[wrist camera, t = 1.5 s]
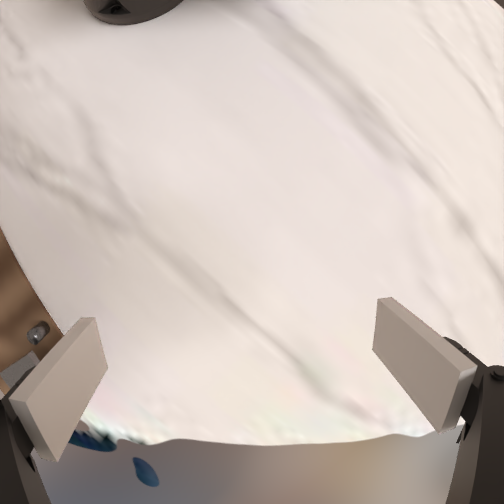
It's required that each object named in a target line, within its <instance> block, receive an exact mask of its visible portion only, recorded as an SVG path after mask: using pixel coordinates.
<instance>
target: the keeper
mask: <svg viewBox="0 0 504 504" xmlns="http://www.w3.org/2000/svg"><path fill="white" fill-rule="evenodd" d="M49 332H50V327H49V325H48V323H47V322H45V321H40V322H39V323H38V324H36V325H35V326H34V327H33V328H32V329H31V330H29V331H28V332H27V339H28V340H29V342H30V343H31V344H33V345H37V344H38V343H39V342H40V341H41V340H42V339H43V338H44V337H45V336H46V335H47V334H48V333H49ZM39 363H40V360H39V359H38V358H37V356H36V355H35V354H34V352H33V351H32V350H31V351H30V352H28V353H27V354H25V355H24V356H22V357H21V358H19V359H18V360H17V361H15V362H14V363H12V364H11V365H9V366H8V367H6V368H5V369H3V370H2V371H1V372H0V376H1V377H2V379H3V380H4V381H5V383H6V384H7V385H8V387H9V388H10V389H11V388H12V387H13V386H14V385H15V383H16V382H17V381H18V380H20V378H21V377H22V375H23V374H24V373H25V372H26V371H27V370H29V369H31V368H32V367H34V366H37V365H38V364H39Z"/></svg>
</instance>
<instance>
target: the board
mask: <svg viewBox="0 0 504 504" xmlns="http://www.w3.org/2000/svg"><path fill="white" fill-rule="evenodd" d="M40 321H45V322H47V323H48V325H49V327H50V332H49V333H48V334H47V335H46V336H45V337H44V338H43V339H42V340H41V341H40V342H39V343H38V344H37V345H33V344H31V343H30V342H29V340H28V339H27V332H28V331H29V330H31V329H32V328H33V327H34V326H35V325H36V324H38V323H39V322H40ZM63 336H64V335H63V334H62V333H61V331H60V330H59V328H58V327H57V325H56V324H55V322H54V321H53V319H52V318H51V316H50V315H49V313H48V312H47V310H46V309H45V307H44V306H43V304H42V303H41V301H40V299H39V298H38V296H37V294H36V293H35V291H34V290H33V288H32V286H31V284H30V283H29V281H28V279H27V278H26V276H25V274H24V272H23V271H22V269H21V267H20V265H19V263H18V262H17V260H16V258H15V256H14V254H13V252H12V250H11V248H10V246H9V244H8V242H7V240H6V238H5V236H4V234H3V232H2V230H1V228H0V372H1V371H2V370H3V369H5V368H6V367H8V366H9V365H11V364H12V363H14V362H15V361H17V360H18V359H19V358H21V357H22V356H24V355H25V354H27V353H28V352H30V351H31V350H32V351H33V352H34V354H35V355H36V356H37V358H38V359H39V360H40V361H41V360H42V359H43V358H44V357H45V356H46V355H47V354H48V353H49V351H50V350H51V349H52V348H53V347H54V346H55V345H56V344H57V343H58V342H59V341H60V340H61V338H62V337H63ZM0 389H1V391H2V392H3V393H4V395H6V394H7V393H8V391H9V390H10V388H9V387H8V385H7V384H6V383H5V381H4V380H3V379H2V377H1V376H0Z"/></svg>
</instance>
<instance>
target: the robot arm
mask: <svg viewBox="0 0 504 504" xmlns="http://www.w3.org/2000/svg"><path fill="white" fill-rule="evenodd" d="M182 1H183V0H84V2H85V4H86V6H87V7H88V9H89V10H90V11H91V12H92V14H93V15H94V16H95V17H97V18H98V19H100V20H102V21H104V22H107V23H111V24H118V25H126V24H135V23H140V22H144V21H147V20H150V19H153V18H156V17H158V16H160V15H162V14H164V13H166V12H168V11H169V10H171V9H173V8H174V7H176V6H177V5H178V4H179V3H181V2H182ZM372 350H373V351H374V352H375V354H376V355H377V356H378V357H379V359H380V360H381V361H382V362H383V364H384V365H385V366H386V367H387V369H388V370H389V371H390V372H391V374H392V375H393V376H394V377H395V379H396V380H397V381H398V382H399V384H400V385H401V386H402V388H403V389H404V390H405V391H406V393H407V394H408V395H409V396H410V398H411V399H412V400H413V402H414V403H415V404H416V405H417V407H418V408H419V409H420V411H421V412H422V413H423V414H424V416H425V417H426V418H427V420H428V421H429V422H430V423H431V425H432V426H433V427H434V429H435V430H436V431H437V433H438V434H442V433H444V432H447V431H449V430H452V429H454V428H455V427H456V425H457V423H458V420H459V418H460V416H461V417H462V418H463V419H464V420H465V421H466V422H465V424H464V426H463V429H462V431H461V433H460V436H459V438H458V440H457V442H456V443H459V442H460V446H459V451H458V456H457V461H456V466H455V470H454V474H453V478H452V482H451V486H450V490H449V494H448V497H447V501H446V504H504V367H503V366H499V365H493V366H489V367H487V366H486V365H485V364H483V363H482V362H481V361H480V360H479V359H477V358H476V357H475V356H474V355H472V354H471V353H469V351H467V350H466V349H465V348H463V347H462V346H461V345H460V344H459V343H457V342H456V341H454V340H452V339H449V338H447V337H442V336H441V335H439V334H438V333H437V332H436V331H434V330H433V329H432V328H431V327H429V326H428V325H427V324H426V323H424V322H423V321H422V320H421V319H419V318H418V317H417V316H415V315H414V314H413V313H412V312H410V311H409V310H408V309H406V308H405V307H404V306H403V305H401V304H400V303H399V302H397V301H396V300H395V299H394V298H392V297H388V298H381V299H378V301H377V313H376V323H375V332H374V340H373V348H372ZM107 369H108V366H107V362H106V359H105V355H104V352H103V348H102V344H101V340H100V336H99V332H98V328H97V323H96V319H95V318H80V319H79V320H78V321H77V323H76V324H75V325H74V326H73V327H72V328H71V329H70V330H69V331H68V332H67V333H66V334H65V335H64V336H63V337H62V338H61V340H60V341H59V342H58V343H57V344H56V345H55V346H54V347H53V348H52V349H51V350H50V351H49V353H48V354H47V355H46V356H45V357H44V358H43V359H42V360H41V361H40V363H39V364H38V365H37V366H34V367H32V368H31V369H29V370H27V371H26V372H25V373H24V374H23V375H22V377H21V378H20V380H18V381H17V382H16V383H15V385H14V386H13V387H12V388H11V389H10V390H9V391H8V393H7V394H6V395H5V396H4V397H3V398H2V400H0V504H51V502H50V500H49V498H48V495H47V493H46V490H45V488H44V485H43V483H42V480H41V478H40V475H39V473H38V470H37V467H36V464H35V461H34V459H33V458H32V456H31V454H30V453H31V451H32V450H33V448H35V449H36V451H37V453H38V454H39V456H40V457H41V458H42V459H46V460H50V461H54V462H58V461H59V459H60V457H61V455H62V452H63V451H64V449H65V446H66V445H67V443H68V441H69V439H70V437H71V435H72V433H73V431H74V429H75V427H76V425H77V423H78V422H79V420H80V418H81V416H82V414H83V412H84V410H85V408H86V407H87V405H88V403H89V401H90V399H91V397H92V396H93V394H94V392H95V390H96V388H97V387H98V385H99V383H100V381H101V379H102V378H103V376H104V374H105V372H106V371H107Z"/></svg>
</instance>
